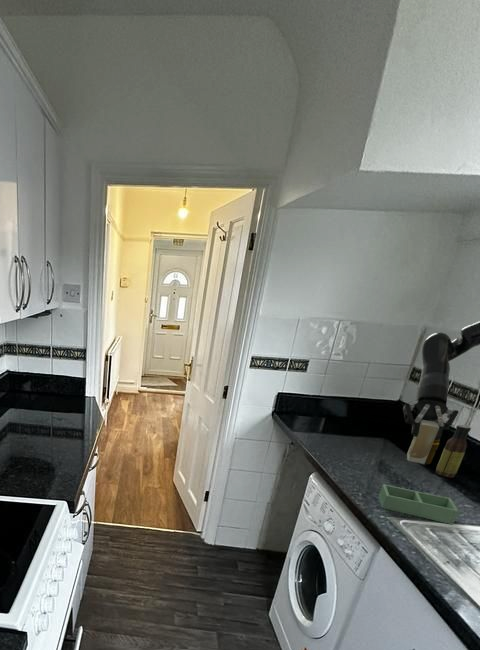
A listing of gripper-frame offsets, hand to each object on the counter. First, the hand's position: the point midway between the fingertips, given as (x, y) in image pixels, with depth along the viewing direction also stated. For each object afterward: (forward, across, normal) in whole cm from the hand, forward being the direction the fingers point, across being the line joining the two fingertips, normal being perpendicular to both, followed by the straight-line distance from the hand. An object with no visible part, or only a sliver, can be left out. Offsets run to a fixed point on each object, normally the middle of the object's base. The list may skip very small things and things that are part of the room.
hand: (426, 437), depth 125 cm
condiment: (-20, +14, +54) cm, 59 cm away
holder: (+17, +4, +16) cm, 24 cm away
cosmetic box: (+5, 0, +7) cm, 9 cm away
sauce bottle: (-12, +20, +46) cm, 52 cm away
